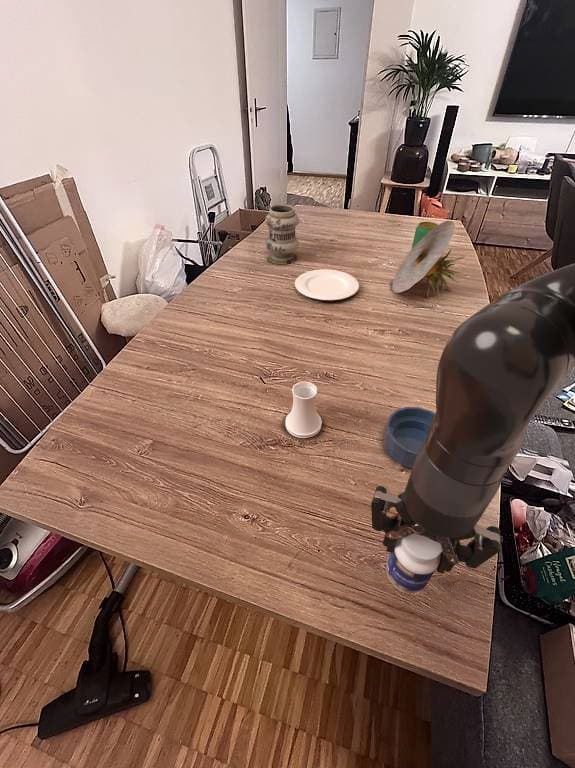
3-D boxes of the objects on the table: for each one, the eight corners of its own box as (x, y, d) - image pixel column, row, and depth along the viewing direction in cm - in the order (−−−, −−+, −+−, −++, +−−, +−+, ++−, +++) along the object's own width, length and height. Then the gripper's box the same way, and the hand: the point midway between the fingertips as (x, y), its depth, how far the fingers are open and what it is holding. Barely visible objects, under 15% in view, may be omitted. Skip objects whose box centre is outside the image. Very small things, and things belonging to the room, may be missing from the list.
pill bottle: (384, 588, 51) (397, 556, 44) (386, 548, 55) (398, 513, 48) (428, 599, 49) (448, 568, 43) (427, 557, 54) (445, 522, 47)
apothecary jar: (280, 268, 133) (279, 216, 121) (259, 257, 140) (256, 207, 128) (305, 259, 139) (306, 208, 127) (284, 249, 146) (284, 200, 134)
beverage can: (428, 253, 143) (436, 220, 135) (434, 262, 137) (443, 229, 129) (407, 253, 143) (414, 221, 135) (412, 262, 137) (420, 229, 129)
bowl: (456, 447, 74) (464, 430, 71) (423, 483, 68) (430, 466, 65) (405, 414, 81) (410, 398, 77) (370, 444, 75) (374, 428, 71)
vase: (312, 443, 75) (314, 408, 68) (279, 430, 78) (278, 395, 71) (326, 418, 80) (330, 383, 73) (295, 407, 83) (295, 372, 76)
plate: (281, 289, 122) (281, 284, 121) (321, 268, 133) (321, 263, 132) (332, 312, 112) (333, 306, 110) (371, 287, 123) (371, 282, 122)
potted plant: (420, 333, 116) (497, 279, 102) (383, 293, 111) (459, 231, 98) (415, 301, 136) (479, 253, 122) (383, 266, 131) (446, 212, 118)
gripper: (369, 485, 37) (352, 559, 48) (533, 544, 32) (472, 610, 44) (387, 432, 42) (368, 510, 53) (530, 476, 37) (476, 551, 49)
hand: (415, 555), depth 48 cm, fingers closed on pill bottle, 5 cm apart
